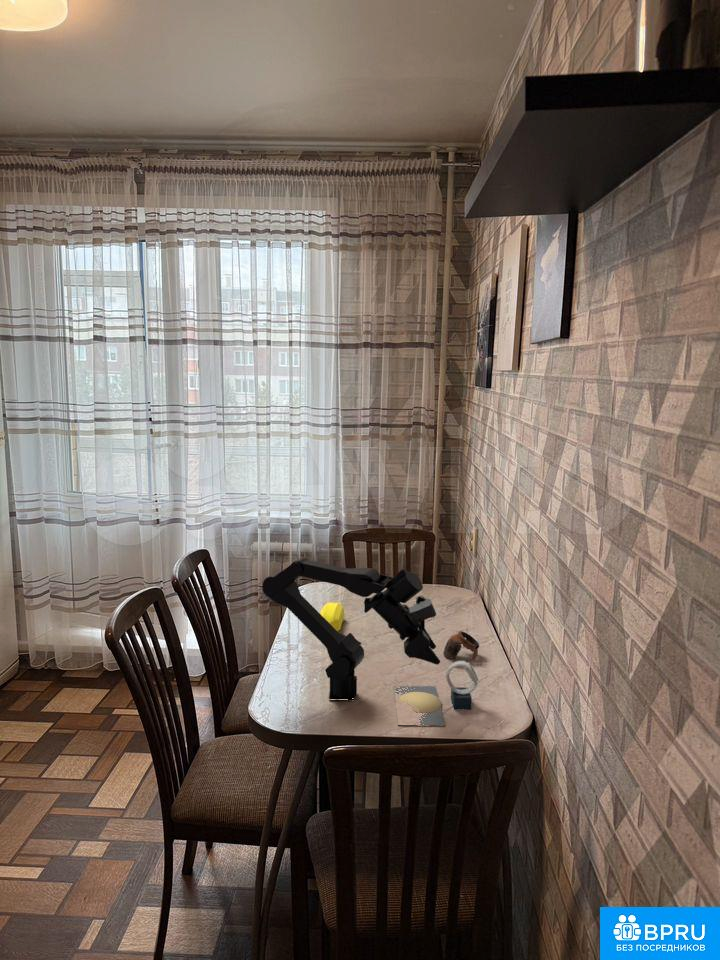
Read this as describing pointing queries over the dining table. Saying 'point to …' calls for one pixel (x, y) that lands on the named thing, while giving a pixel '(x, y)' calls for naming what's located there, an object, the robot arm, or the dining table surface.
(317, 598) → the dining table surface
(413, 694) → the mat
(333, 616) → the yellow faceted lump
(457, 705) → the watch
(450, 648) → the brown curved piece
